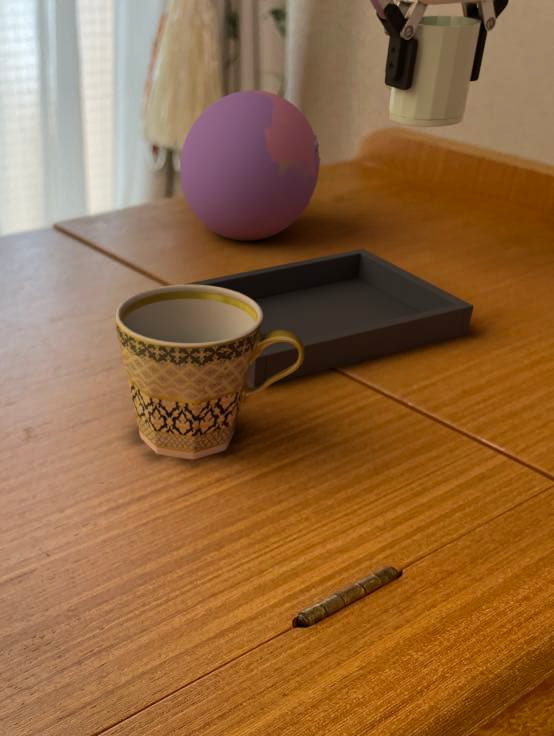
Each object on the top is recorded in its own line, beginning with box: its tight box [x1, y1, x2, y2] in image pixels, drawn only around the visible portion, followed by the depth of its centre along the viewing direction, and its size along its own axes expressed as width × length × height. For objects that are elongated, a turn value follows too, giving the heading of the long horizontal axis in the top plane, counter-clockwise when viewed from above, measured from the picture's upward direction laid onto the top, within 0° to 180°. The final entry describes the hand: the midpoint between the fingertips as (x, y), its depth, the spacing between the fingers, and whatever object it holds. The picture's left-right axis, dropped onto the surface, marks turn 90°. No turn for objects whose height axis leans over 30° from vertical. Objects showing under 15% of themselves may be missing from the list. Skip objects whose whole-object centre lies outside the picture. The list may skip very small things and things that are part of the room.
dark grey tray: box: [181, 248, 475, 388], centre depth 79 cm, size 22×16×3 cm
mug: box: [385, 14, 481, 128], centre depth 81 cm, size 10×7×8 cm
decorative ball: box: [179, 89, 321, 242], centre depth 94 cm, size 15×15×15 cm
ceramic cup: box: [114, 283, 305, 460], centre depth 61 cm, size 13×10×10 cm
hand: (431, 81), depth 80 cm, fingers closed on mug, 6 cm apart
